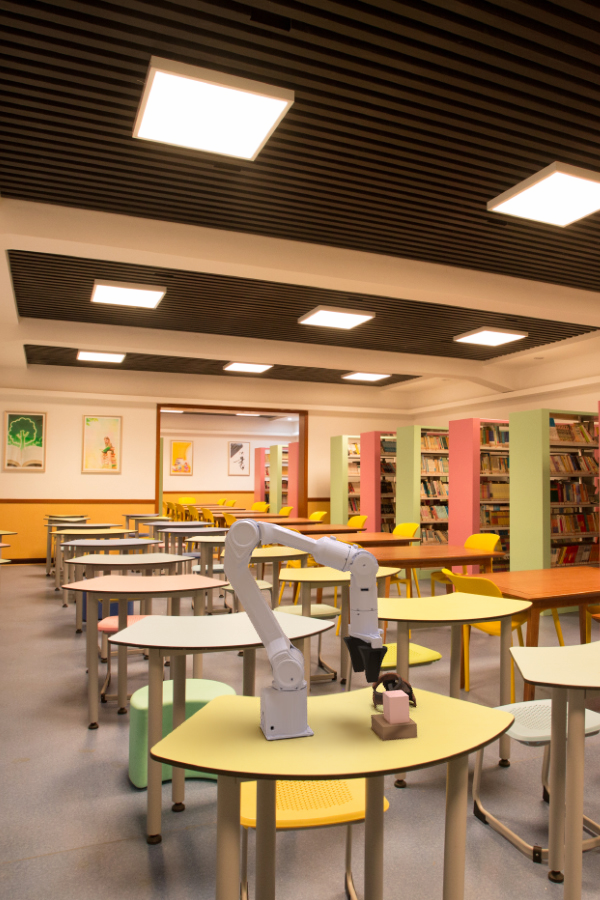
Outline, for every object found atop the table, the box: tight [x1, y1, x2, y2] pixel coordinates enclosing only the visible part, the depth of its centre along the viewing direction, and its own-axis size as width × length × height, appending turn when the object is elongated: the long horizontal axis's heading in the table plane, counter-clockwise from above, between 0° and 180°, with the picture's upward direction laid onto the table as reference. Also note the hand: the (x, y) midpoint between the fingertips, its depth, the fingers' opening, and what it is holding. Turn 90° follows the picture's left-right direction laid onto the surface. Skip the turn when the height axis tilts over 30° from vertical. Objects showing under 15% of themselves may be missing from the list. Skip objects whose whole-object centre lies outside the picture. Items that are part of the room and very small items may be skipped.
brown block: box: [370, 713, 418, 742], centre depth 118 cm, size 7×7×3 cm
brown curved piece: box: [371, 671, 418, 708], centre depth 134 cm, size 12×10×8 cm
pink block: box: [382, 690, 410, 724], centre depth 118 cm, size 4×4×5 cm
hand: (365, 676), depth 120 cm, fingers open, 7 cm apart
